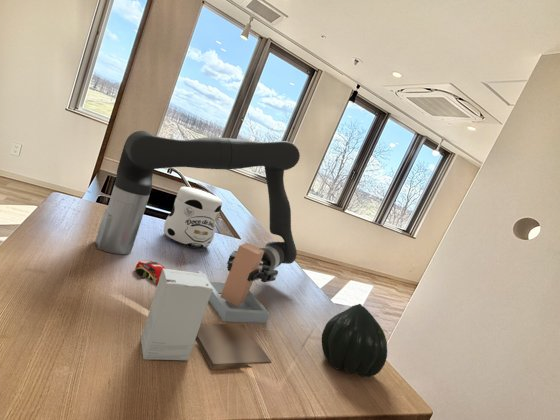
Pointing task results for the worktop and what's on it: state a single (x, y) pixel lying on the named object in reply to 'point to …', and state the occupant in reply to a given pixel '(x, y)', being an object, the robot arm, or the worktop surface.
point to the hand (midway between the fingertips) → (239, 272)
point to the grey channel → (244, 312)
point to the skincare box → (175, 315)
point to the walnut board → (229, 346)
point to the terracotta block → (241, 273)
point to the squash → (355, 342)
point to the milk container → (193, 218)
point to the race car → (149, 270)
